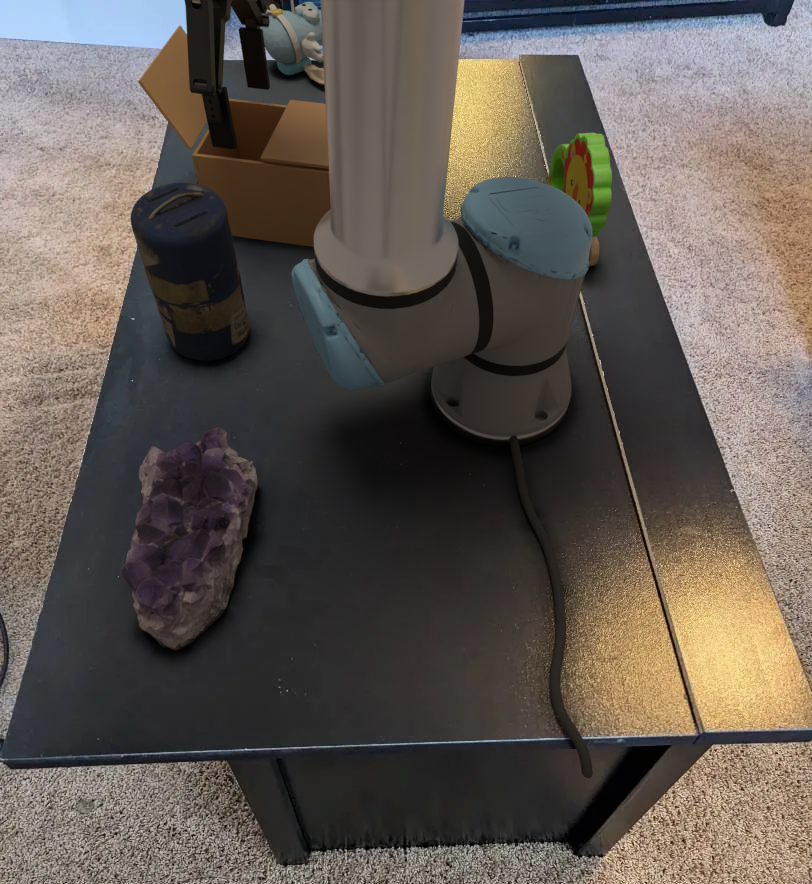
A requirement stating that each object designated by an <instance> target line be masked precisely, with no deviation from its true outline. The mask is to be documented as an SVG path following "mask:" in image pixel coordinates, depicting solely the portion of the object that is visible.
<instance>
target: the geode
mask: <svg viewBox="0 0 812 884" xmlns="http://www.w3.org/2000/svg"><path fill="white" fill-rule="evenodd" d="M138 479H139V481H140V482H141V490H140V495H141V497H142V507H141V508H140V510H138V511H137V512H136V518H135V522H134V523H135V530H134V532H133V534H132V537H131V540H130V549H129V550H127V553H126V559H125V563H124V564H123V566H122V567H121V569H120V570H119V573H120V575H121V576H122V578H124V580H125V581H126V582H127V584H128V585H129V587H130V588H131V590H132V592H131V596H132V599H133V601H134V602H133V604H132V607H133V609H134V611H135V614H136V615H137V616H136V617H137V620H138V626H139V628H140V629H141V630H142V631H144V632H145V633H146V634H147V635H149V636H150V637H151V638H153V639H154V640H155V641H156V642H157V643H158V644H159V645H160V647H161V648H163V649H166V648H168V649H170V650H172V651H175V652H176V651H180V650H182V649H184V648H186V647H187V646H189V645H191V644H192V643H194V642H195V641H196V640H197V639H198V638H199V637H200V636H202V635H203V634H204V633H205V632H206V631H207V630H208V629H209V628H210V626H212V625H213V624H214V623H215V622H216V621H217V620H220V619H219V618H221V616H222V615H223V614H224V613H225V612H226V610H227V608H228V605H229V600H230V596H231V593H232V592H233V589H234V586H235V579H236V573H237V570H238V565H239V564H240V562H241V560H242V554H243V551H244V548H243V540H245V539H246V538H247V537H248V531H249V524H250V518H251V515H252V512H253V507H254V504H255V496H256V492H257V490H258V485H259V480H258V473H257V470H256V467H255V466H254V461H252V460H251V461H249V459H246V458H244V457H241V456H239V454H238V452H237V451H236V449H235V450H234V449H233V448H232V447H230V445H229V444H228V432H227V431H226V429H223V428H222V427H220V426H218V427H214V428H212V429H210V430H207V431H204V432H203V434H202V438H201V440H199V441H197V442H196V443H194V442H191V441H190V442H184V443H181V444H179V445H178V446H177V447H175V448H173V449H170V450H169V451H167V450H162V449H160V448H158V447H157V446H155V445H152V446H151V447H150V448H149V450H148V452H147V453H146V456H145V457H144V459H143V461H142V464H141V465H140V466H139V470H138Z"/></svg>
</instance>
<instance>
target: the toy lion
mask: <svg viewBox="0 0 812 884" xmlns="http://www.w3.org/2000/svg"><path fill="white" fill-rule="evenodd" d="M548 169H549V170H548V174H547V180H546V184H548V185H550V186H553V187H555V188H557V189H559V190H561V191H563V192H564V193H566V194H567V195H569V196H570V197H572V198H573V199H574V200H575V201H576V202H577V203H578V204H579V205H580V206H581V207H582V208H583V209H584V211H585V212H586V214H587V216H588V218H589V220H590V223H591V226H592V243H591V248H590V253H589V267H592V266H596V265H597V264H598V262H599V259H600V242H599V238H598V237H597V236H598V235H599V234H600V231H601V230H603V229H604V228H605V227H606V223H607V220H608V212H609V211H610V208H611V205H612V200H613V199H612V198H613V197H612V194H613V193H612V185H613V170H612V167H611V157H610V151H609V148H608V147H607V146H606V139H605V136H604V134H603V133H596V132H583V133H576V134H575V136H574V137H573V139H571V140H570V141H569V143H562V144H561V143H560V144H559V145H557V146H556V148H555V150H554V151H553V154H552V157H551V161H550V165H549V168H548Z"/></svg>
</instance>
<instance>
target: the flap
mask: <svg viewBox="0 0 812 884" xmlns="http://www.w3.org/2000/svg"><path fill="white" fill-rule="evenodd" d="M137 83H138V84H139V86H140V87H141V88H142V90H143V91H144V93H145V94H146V95H147V96H148V98H149V99H150V101H152V103H153V105H155V107H156V108H157V110H158V111H159V112H160V113H161V115H162V117H163V118H164V119H165V120H166V122H167V123H168V124H169V125H170V127H171V128H172V130H173V131H174V132H175V134H176V135H177V136H178V137H179V140H181V142H182V143H183V145H185V147H186V148H187V150H191V149H192V148H193V146H194V145H195V143H196V141H197V140H198V138H199V136H200V135H201V133H202V131H203V130H204V128H205V127H206V125H207V124H208V122H207V117H206V112H205V108H204V103H203V98H202V94H197V93H191V91H190V87H189V66H188V46H187V32H186V31H185V29H184V28H183V27H182V25H180V24H179V26H178V27H177V28H176V29H175V31H174V32H172V35H170V37H169V38H168V39H167V41H166V43H164V45H163V46H162V48H161V50H160V51H159V52H158V53H157V55H156V56H155V57H154V59H153V60H152V61H151V63H150V64H149V66H148V67H147V68H146V70H145V71H144V73H143V74H142V75H141V77H140V78H139V79H138V81H137Z"/></svg>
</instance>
